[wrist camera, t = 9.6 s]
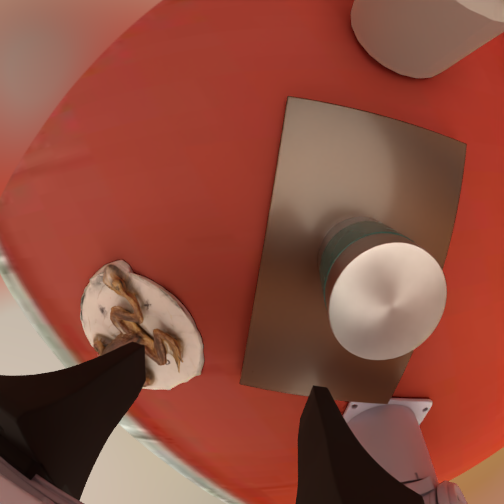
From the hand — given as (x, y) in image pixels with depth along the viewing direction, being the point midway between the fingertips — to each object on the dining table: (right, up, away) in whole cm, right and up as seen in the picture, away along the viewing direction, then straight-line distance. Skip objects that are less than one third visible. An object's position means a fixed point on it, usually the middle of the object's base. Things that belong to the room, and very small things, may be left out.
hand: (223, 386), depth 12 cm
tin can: (+8, +5, +6) cm, 11 cm away
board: (+8, +4, +8) cm, 12 cm away
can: (+11, +20, +3) cm, 23 cm away
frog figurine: (-8, -1, +12) cm, 14 cm away
